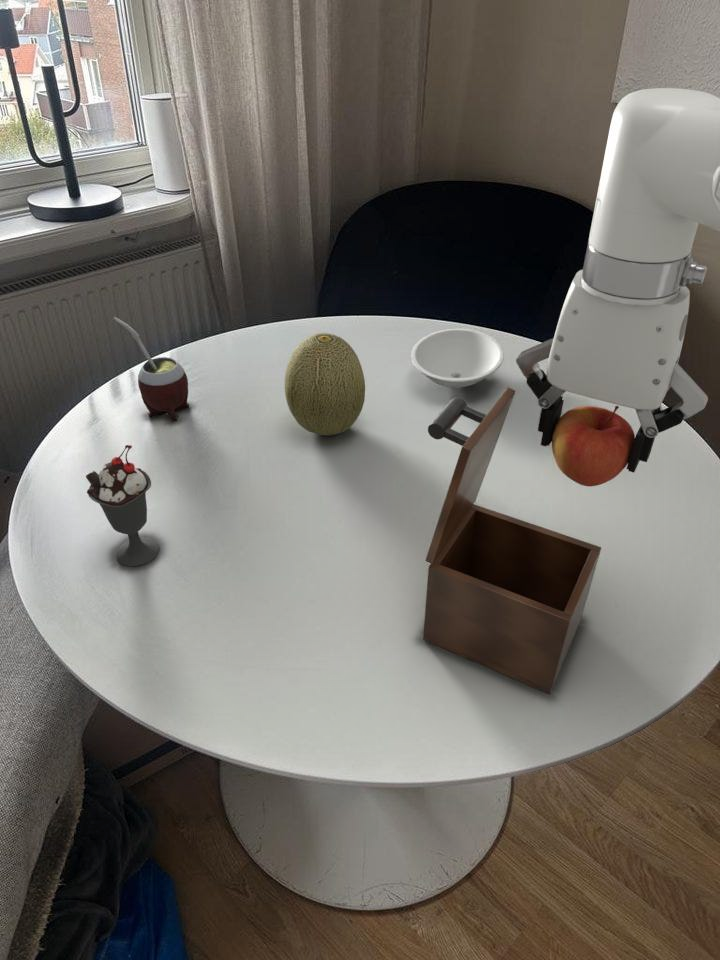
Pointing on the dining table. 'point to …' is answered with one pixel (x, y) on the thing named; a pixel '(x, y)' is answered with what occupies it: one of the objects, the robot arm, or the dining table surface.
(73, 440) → the dining table surface
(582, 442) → the apple
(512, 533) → the chest
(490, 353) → the dish
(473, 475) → the lid
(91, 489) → the sundae
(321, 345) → the fruit
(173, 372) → the mate gourd
